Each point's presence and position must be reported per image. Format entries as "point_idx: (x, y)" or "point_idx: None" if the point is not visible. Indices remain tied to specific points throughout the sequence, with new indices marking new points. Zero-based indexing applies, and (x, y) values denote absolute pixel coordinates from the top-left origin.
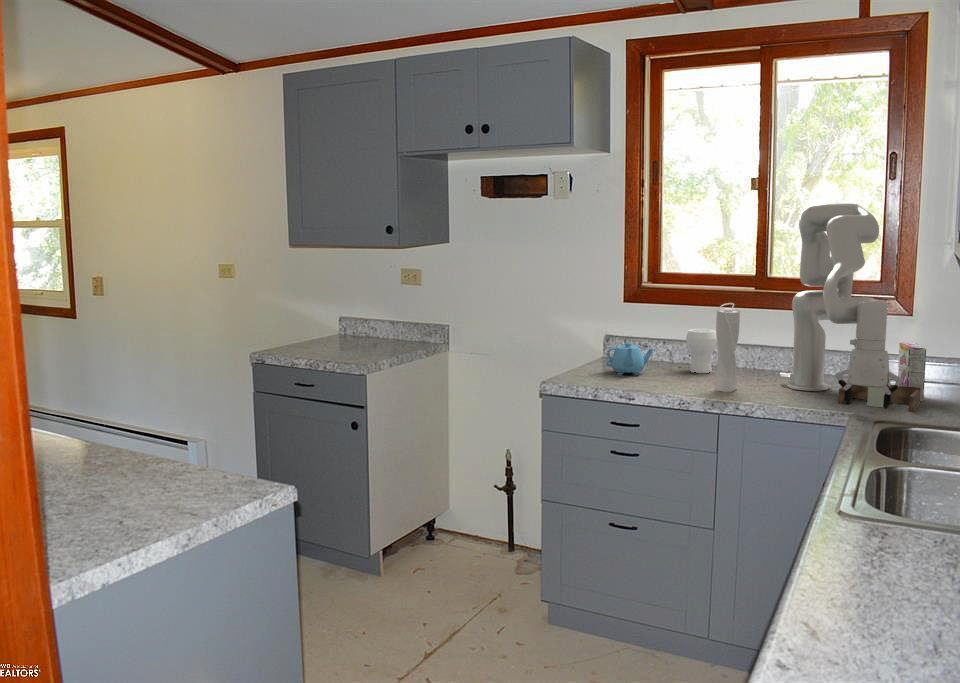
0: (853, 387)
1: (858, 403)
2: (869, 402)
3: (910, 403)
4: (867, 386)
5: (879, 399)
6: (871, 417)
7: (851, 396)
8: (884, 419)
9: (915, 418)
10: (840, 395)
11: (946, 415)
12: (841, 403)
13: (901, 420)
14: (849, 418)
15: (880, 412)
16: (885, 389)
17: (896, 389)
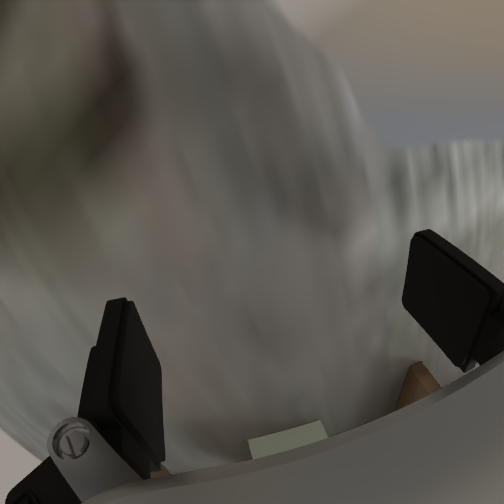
0: None
1: (354, 418)
2: (316, 433)
3: None
4: (382, 419)
5: None
6: (212, 221)
7: (427, 329)
8: (113, 226)
9: (35, 364)
10: (435, 391)
11: (32, 446)
12: (412, 369)
13: (34, 278)
14: (330, 78)
15: (226, 372)
16: (103, 475)
17: (15, 486)
